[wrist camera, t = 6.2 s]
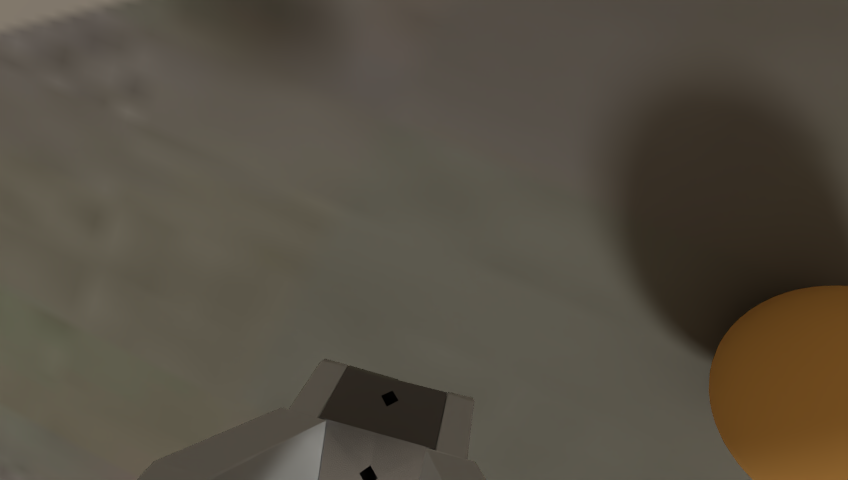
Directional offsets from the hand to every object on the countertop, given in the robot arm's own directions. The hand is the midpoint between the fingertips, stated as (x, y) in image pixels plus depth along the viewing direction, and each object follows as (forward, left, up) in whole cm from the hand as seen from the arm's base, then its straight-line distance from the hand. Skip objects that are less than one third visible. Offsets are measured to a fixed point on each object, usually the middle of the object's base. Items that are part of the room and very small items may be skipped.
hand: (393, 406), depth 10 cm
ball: (+1, -10, -4) cm, 11 cm away
